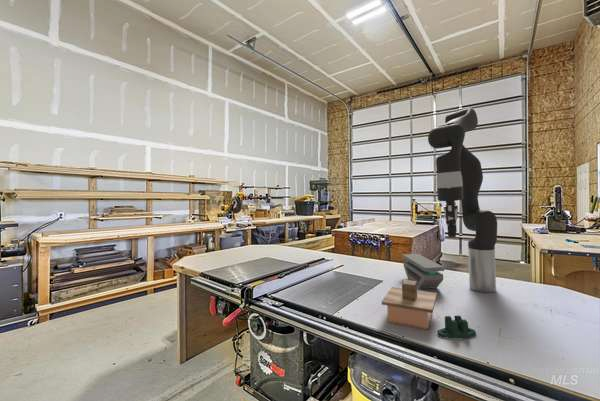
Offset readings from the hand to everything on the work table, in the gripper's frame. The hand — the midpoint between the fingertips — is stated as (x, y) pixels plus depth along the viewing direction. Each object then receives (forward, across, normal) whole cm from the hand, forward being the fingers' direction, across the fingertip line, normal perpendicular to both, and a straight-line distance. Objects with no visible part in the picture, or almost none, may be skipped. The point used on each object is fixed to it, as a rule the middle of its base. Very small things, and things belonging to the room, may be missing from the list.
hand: (452, 234), depth 89 cm
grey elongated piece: (+28, -29, -15) cm, 43 cm away
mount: (+28, +13, 0) cm, 31 cm away
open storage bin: (+27, +8, -14) cm, 31 cm away
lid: (+21, +8, -13) cm, 26 cm away
